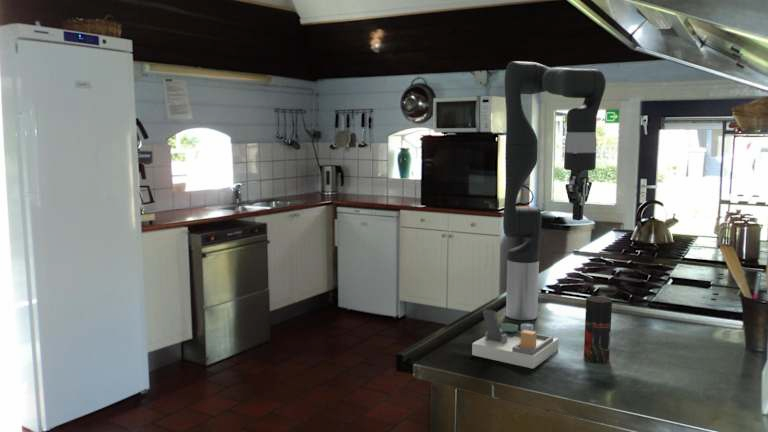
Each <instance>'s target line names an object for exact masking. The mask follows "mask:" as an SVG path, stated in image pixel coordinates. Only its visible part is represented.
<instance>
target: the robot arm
mask: <svg viewBox="0 0 768 432" xmlns="http://www.w3.org/2000/svg"><path fill="white" fill-rule="evenodd" d="M605 91H606V77H605V74H604V73H603V71H601V70H600V69H597V68H596V69H595V68H569V67H552V68H551V67H548V66H547V65H545V64H544V65H543V64H541V63H540V62H539V63H538V62H534V61H510V62H508V64H507V65H506V69H505V73H504V96H505V110H506V111H505V113H506V114H505V115H506V128H505V129H506V130H505V131H506V133H505V189H504V190H505V191H504V204H503V220H502V225H503V226H502V227H503V233H504V235H505V237H507V238H517V239H518V238H519V239H520V238H524V239H525V238H526V239H527V240H526V241H525V242H523V243H522V244H520V245H517V246H515V247H513V248H510V249H508V251H507V258H506V259H507V263H506V265H507V266H506V270H507V271H506V300H505V301H506V302H505V303H506V304H505V305H506V306H505V312H506V313H505V316H506V317H507V318H509V319H512V320H516V321H532V320H535V319H537V318H538V308H539V307H538V306H539V305H538V303H539V298H538V297H539V276H540V275H539V273H540V272H539V271H540V270H539V268H540V267H539V266H540V247H541V245H540V243H541V234H542V233H541V232H542V221H543V220H542V219H543V218H542V211H541V209H540V208H539V207H538V206H522V205H521V206H520V205H519V206H516V204H517V199H518V196H519V193H520V191H521V189H522V187H523V186H524V184H525V182H526V181H527V179H528V178H529V177H530V175H531V174H532V172H533V171H534V169H535V167H536V165H537V162H538V152H539V151H538V148H539V147H538V142H539V141H538V137H537V134H536V132H535V130H534V128H533V127H532V124H531V123H530V122H529V120H528V118H527V116H526V114H525V112H524V110H523V105H522V103H523V102H522V96H521V95H535V94H541V93H545V92H547V93H548V94H551V95H557V96H562V97H564V98H569V99H584V100H583V103H582V105H581V106H580V107H574V108H571V109H569V110H568V111H567V115H566V132H565V133H566V134H565V140H564V159H563V160H564V161H563V168H564V170H565V171H570V174H569V178H568V183H567V184H565V192H566V195H567V198H568V202H569V204H571V205H572V215H571V216H572V220H573V221H582V220H584V205H586V204H585V203H587V202H588V199H589V195H590V191H591V188H592V184H593V183H592V181H590V177H589V171H594V170H596V167H597V166H596V164H597V141H598V140H597V117H598V113H599V110H600V109H599V108H600V106H601V103H602V100H603V96H604V94H605Z"/></svg>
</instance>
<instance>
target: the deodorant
mask: <svg viewBox="0 0 768 432" xmlns="http://www.w3.org/2000/svg"><path fill="white" fill-rule="evenodd" d="M585 299H586V300H585V318H584V319H585V321H584V322H585V323H584V341H583V342H584V343H583V346H584V347H583V359H584V361H586V362H587V363H592V364H597V365H600V364H601V365H602V364H607V363H609V362H610V352H611V332H612V329H611V328H612V315H613V314H612V313H613V300H612V299H611V298H609V297H605V296H598V295H591V296H588V297H586V298H585Z"/></svg>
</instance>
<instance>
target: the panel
mask: <svg viewBox="0 0 768 432" xmlns="http://www.w3.org/2000/svg"><path fill="white" fill-rule="evenodd" d="M499 328H500V333H501V341H500V342H499V341H494V340H489V336H488V332H487V331H485V333H484V336H482V338H480V339H479V338H478V340H475V341H474V342H472V344H471V346H472V347H471V353H472V354H471V355H472V356H475V357H479V358H484V359H488V360H493V361H498V362H502V363H506V364H510V365H516V366H520V367H524V368H528V369H532V370H533V369H535V368H537V366H539V365H540V364H542V363H544V361H546V360H547V359H548V358H550V357H551V356H552V355H554V354H555V353H556V352H558V351H559V338H557V337H553V336H551V335H546V334H545V335H544V334H539V333H537V334H536V347H535V348H533V349H532V350H528V349H523V348H520V342H521V334H520V330H518V331H515V332H509V331H504V330H501V327H499Z"/></svg>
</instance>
